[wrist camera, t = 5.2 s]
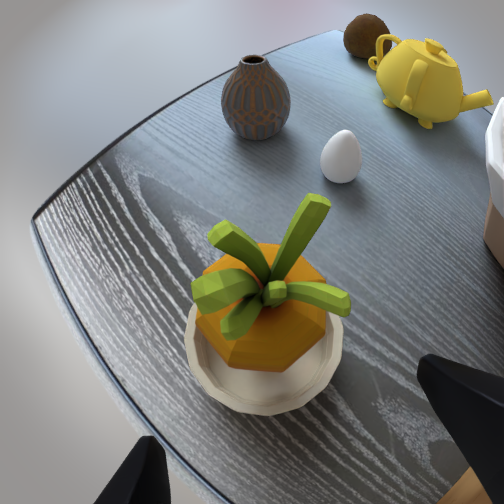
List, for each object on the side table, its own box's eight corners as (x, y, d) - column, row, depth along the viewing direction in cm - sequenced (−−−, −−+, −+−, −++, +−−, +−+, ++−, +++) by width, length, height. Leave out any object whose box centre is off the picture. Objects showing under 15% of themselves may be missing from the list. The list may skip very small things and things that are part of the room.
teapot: (473, 146, 28) (506, 86, 18) (396, 137, 28) (424, 57, 19) (429, 87, 35) (446, 34, 25) (357, 76, 35) (368, 13, 25)
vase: (287, 111, 31) (289, 46, 23) (290, 149, 28) (295, 75, 20) (228, 112, 31) (219, 48, 23) (222, 150, 28) (210, 78, 20)
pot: (250, 433, 17) (247, 445, 13) (176, 331, 20) (157, 318, 17) (354, 353, 19) (373, 345, 15) (275, 261, 22) (277, 236, 19)
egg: (361, 188, 25) (376, 146, 20) (323, 190, 25) (333, 146, 20) (349, 159, 27) (361, 117, 22) (314, 161, 27) (320, 117, 22)
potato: (398, 58, 39) (407, 21, 32) (375, 72, 36) (385, 27, 28) (359, 42, 42) (365, 5, 34) (331, 54, 39) (335, 10, 31)
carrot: (286, 301, 20) (318, 134, 7) (310, 366, 18) (416, 309, 5) (220, 321, 20) (132, 183, 7) (240, 388, 18) (164, 395, 4)
